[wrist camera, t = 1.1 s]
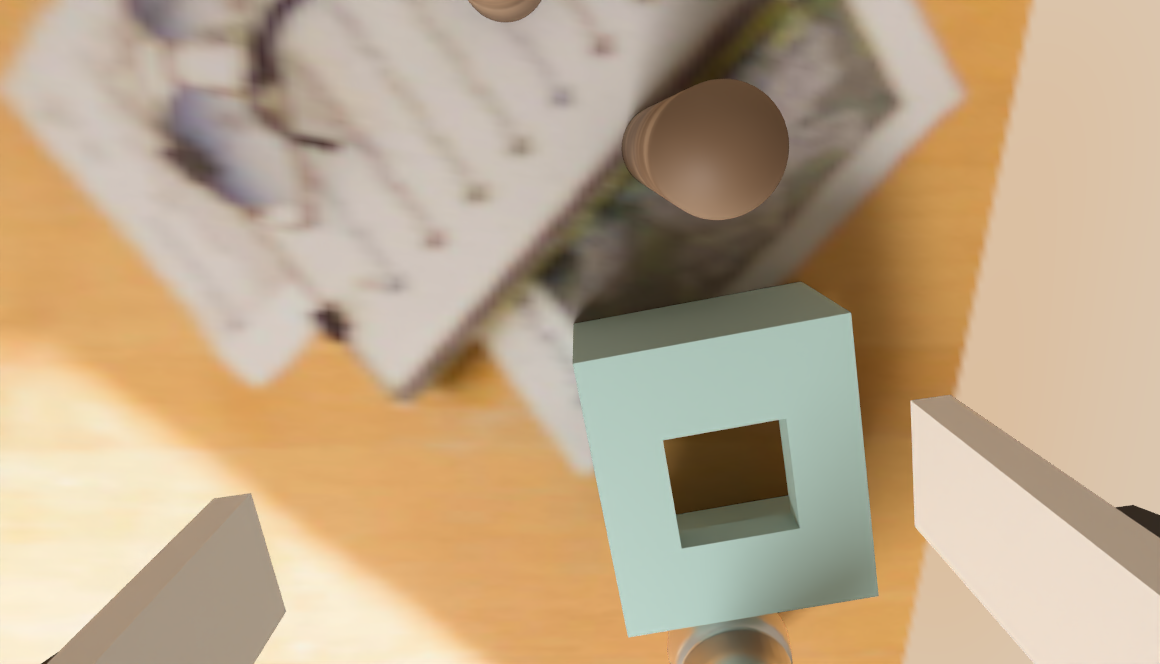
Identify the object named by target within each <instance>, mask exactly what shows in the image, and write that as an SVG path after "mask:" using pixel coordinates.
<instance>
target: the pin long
mask: <svg viewBox="0 0 1160 664" xmlns="http://www.w3.org/2000/svg"><path fill="white" fill-rule="evenodd" d="M788 153H789V138H788V132H787V127H786V124H785V121H784V119H783V117H782V114H781V112H780V111H779V109H778V108H777V106H776V105H775V103H774V102H773V101H772V100H771V99H770V98H769V97H768V96H767V95H766V94H765V93H764V92H762V91H761V90H759V89H758V88H756V87H755V86H752V85H750V84H748V83H745V82H742V81H739V80H733V79H715V80H709V81H705V82H702V83H699V84H697V85H694V86H692V87H690V88H688V89H686V90H684V91H682V92H680V93H678V94H676V95H673V96H671V97H669V98H667V99H665V100H663V101H661V102H659V103H657V104H655V105H653V106H651V107H648V108H646V109H645V110H643V111H641V112H640V113H638V114H637V115H636V116H635V117H634V118H633V119H632V120H631V122H630V123H629V125H628V126H627V128H626V130H625V133H624V136H623V140H622V155H623V160H624V163H625V165H626V167H627V169H628V171H629V172H630V173H631V175H632V176H633V177H634V178H635V179H637V180H638V181H639V182H641V183H642V184H644V185H645V186H647V187H648V188H650V189H651V190H653V191H654V192H656V193H657V194H659V195H660V196H662V197H663V198H665V199H666V200H668V201H669V202H671V203H672V204H674V205H675V206H677V207H678V208H680V209H682V210H683V211H685V212H687V213H689V214H691V215H693V216H696V217H699V218H703V219H709V220H725V219H731V218H735V217H739V216H741V215H744V214H746V213H748V212H750V211H752V210H753V209H755V208H756V207H758V206H759V205H761V204H762V203H763V202H764V201H765V200H766V199H767V198H768V197H769V196H770V195H771V194H772V192H773V191H774V190H775V188H776V187H777V185H778V184H779V182H780V180H781V178H782V176H783V174H784V171H785V168H786V165H787V160H788Z"/></svg>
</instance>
